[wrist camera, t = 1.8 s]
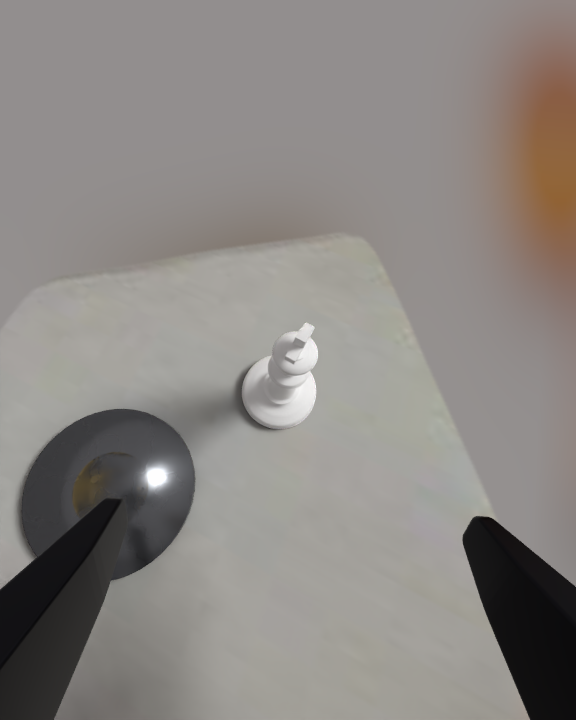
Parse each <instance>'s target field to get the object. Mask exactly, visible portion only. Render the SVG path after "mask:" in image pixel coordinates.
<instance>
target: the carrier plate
mask: <svg viewBox="0 0 576 720" xmlns="http://www.w3.org/2000/svg"><path fill="white" fill-rule="evenodd" d="M194 491H195V471H194V465H193V461H192V458H191V455H190V452H189V450H188V448H187V446H186V444H185V442H184V441H183V439H182V438H181V437H180V435H179V434H178V433H177V432H176V431H175V430H174V429H173V428H172V427H171V426H170V425H168V424H167V423H166V422H164V421H162V420H161V419H159V418H157V417H155V416H153V415H150V414H148V413H145V412H141V411H137V410H129V409H114V410H106V411H102V412H98V413H94V414H92V415H89V416H87V417H84V418H82V419H80V420H78V421H76V422H74V423H73V424H71V425H70V426H68V427H67V428H65V429H64V430H63V431H62V432H60V433H59V434H58V435H57V436H56V437H55V438H54V439H53V440H52V441H51V442H50V443H49V444H48V445H47V446H46V447H45V449H44V450H43V451H42V452H41V454H40V455H39V457H38V458H37V460H36V462H35V463H34V465H33V467H32V469H31V471H30V474H29V476H28V479H27V482H26V485H25V488H24V493H23V498H22V522H23V526H24V531H25V534H26V537H27V540H28V542H29V544H30V546H31V548H32V549H33V551H34V553H35V554H36V555H37V557H38V556H39V555H40V554H41V553H43V552H44V551H45V550H46V549H47V548H48V547H49V546H51V545H52V544H53V543H54V542H55V541H56V540H57V539H59V538H60V537H61V536H62V535H63V534H64V533H65V532H67V531H68V530H69V529H70V528H71V527H72V526H74V525H75V524H76V523H77V522H78V521H79V520H80V519H82V518H83V517H84V516H85V515H86V514H87V513H88V512H90V511H91V510H92V509H93V508H94V507H95V506H96V505H98V504H99V503H100V502H101V501H102V500H103V499H105V498H108V497H112V498H123V499H124V500H125V504H126V511H127V518H128V525H127V530H126V533H125V536H124V540H123V543H122V546H121V549H120V552H119V555H118V559H117V562H116V565H115V568H114V571H113V574H112V578H111V580H115V579H119V578H122V577H125V576H127V575H130V574H132V573H134V572H136V571H138V570H140V569H142V568H143V567H145V566H146V565H148V564H149V563H151V562H152V561H153V560H154V559H155V558H157V557H158V556H159V555H160V554H161V553H162V552H163V551H164V550H165V549H166V548H167V547H168V546H169V545H170V544H171V543H172V541H173V540H174V539H175V537H176V536H177V535H178V533H179V532H180V530H181V528H182V527H183V525H184V523H185V521H186V519H187V517H188V514H189V512H190V509H191V505H192V502H193V497H194Z"/></svg>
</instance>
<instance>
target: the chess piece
mask: <svg viewBox="0 0 576 720" xmlns="http://www.w3.org/2000/svg"><path fill="white" fill-rule="evenodd" d="M314 328H315V327H314V326H312V325H310V324H308V323H306V322H305V324H304V325H303V327H302V328H300V330H299V332H288V333H285V334H283V335H281V336H280V337H279V338H278V339H277V340H276V342H275V343H274V346H273V350H272V356H268V357H265V358H263V359H261V360H259V361H258V362H256V363H255V364H254V365H253V366H252V367H251V368H250V370H249V371H248V373H247V374H246V376H245V379H244V381H243V385H242V399H243V403H244V406H245V408H246V410H247V412H248V413H249V414H250V416H251V417H252V418H253V419H254V420H255V421H257V422H258V423H260V424H261V425H263V426H266V427H268V428H272V429H286V428H290V427H293V426H295V425H297V424H299V423H301V422H302V421H303V420H304V419H305V418H306V417H307V416H308V415H309V413H310V412H311V410H312V408H313V406H314V403H315V399H316V384H315V381H314V378H313V376H312V374H311V372H310V370H311V369H312V368H313V367H314V366H315V364H316V362H317V359H318V350H317V347H316V344H315V343H314V341H313V340H312V339H311V338H310V336H311V334H312V332H313V330H314Z"/></svg>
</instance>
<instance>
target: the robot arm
mask: <svg viewBox="0 0 576 720" xmlns="http://www.w3.org/2000/svg"><path fill="white" fill-rule="evenodd" d="M127 525H128V518H127V511H126V504H125V500H124V499H123V498H112V497H108V498H105V499H103V500H102V501H101V502H100V503H99V504H98V505H96V506H95V507H94V508H93V509H92V510H91V511H90V512H88V513H87V514H86V515H85V516H84V517H83V518H82V519H80V520H79V521H78V522H77V523H76V524H75V525H74V526H72V527H71V528H70V529H69V530H68V531H67V532H65V533H64V534H63V535H62V536H61V537H60V538H59V539H57V540H56V541H55V542H54V543H53V544H52V545H51V546H49V547H48V548H47V549H46V550H45V551H44V552H43V553H41V554H40V555H39V556H38V557H37V558H36V559H35V560H33V561H32V562H31V563H30V564H29V565H28V566H27V567H25V568H24V569H23V570H22V571H21V572H20V573H19V574H17V575H16V576H15V577H14V578H13V579H12V580H11V581H9V582H8V583H7V584H6V585H5V586H4V587H3V588H1V589H0V720H54V718H55V715H56V713H57V711H58V708H59V706H60V704H61V701H62V699H63V697H64V694H65V692H66V690H67V687H68V685H69V682H70V680H71V678H72V675H73V673H74V671H75V668H76V666H77V664H78V661H79V659H80V657H81V654H82V652H83V649H84V647H85V645H86V642H87V640H88V638H89V635H90V633H91V631H92V628H93V626H94V624H95V621H96V619H97V616H98V614H99V612H100V609H101V607H102V604H103V602H104V599H105V596H106V593H107V590H108V587H109V584H110V581H111V578H112V574H113V571H114V568H115V565H116V562H117V559H118V555H119V552H120V549H121V546H122V543H123V540H124V536H125V533H126V530H127ZM463 546H464V549H465V552H466V555H467V558H468V561H469V564H470V567H471V571H472V574H473V577H474V580H475V583H476V586H477V589H478V592H479V595H480V598H481V601H482V604H483V607H484V610H485V612H486V615H487V617H488V620H489V622H490V625H491V627H492V629H493V632H494V634H495V637H496V639H497V641H498V644H499V646H500V649H501V651H502V653H503V656H504V658H505V661H506V663H507V665H508V668H509V670H510V673H511V675H512V677H513V680H514V682H515V685H516V687H517V689H518V692H519V694H520V697H521V699H522V701H523V704H524V706H525V709H526V711H527V713H528V716H529V718H530V720H576V587H575V586H574V585H573V584H572V583H570V582H569V581H568V580H567V579H565V578H564V577H563V576H562V575H561V574H559V573H558V572H557V571H556V570H555V569H553V568H552V567H551V566H550V565H548V564H547V563H546V562H545V561H544V560H543V559H541V558H540V557H539V556H538V555H536V554H535V553H534V552H532V550H530V549H529V548H528V547H527V546H525V545H524V544H523V543H522V542H521V541H519V540H518V539H517V538H516V537H515V536H513V535H512V534H511V533H510V532H509V531H507V530H506V529H505V528H504V527H502V526H501V525H500V524H499V523H498V522H496V521H495V520H494V519H492V518H490V517H484V516H475V517H474V518H473V519H472V520H471V522H470V524H469V525H468V527H467V529H466V531H465V532H464V534H463Z"/></svg>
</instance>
